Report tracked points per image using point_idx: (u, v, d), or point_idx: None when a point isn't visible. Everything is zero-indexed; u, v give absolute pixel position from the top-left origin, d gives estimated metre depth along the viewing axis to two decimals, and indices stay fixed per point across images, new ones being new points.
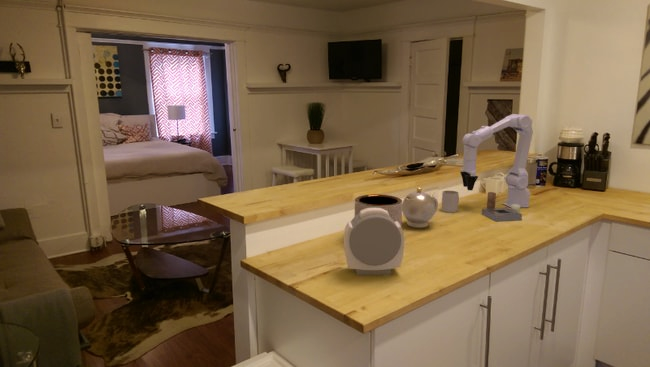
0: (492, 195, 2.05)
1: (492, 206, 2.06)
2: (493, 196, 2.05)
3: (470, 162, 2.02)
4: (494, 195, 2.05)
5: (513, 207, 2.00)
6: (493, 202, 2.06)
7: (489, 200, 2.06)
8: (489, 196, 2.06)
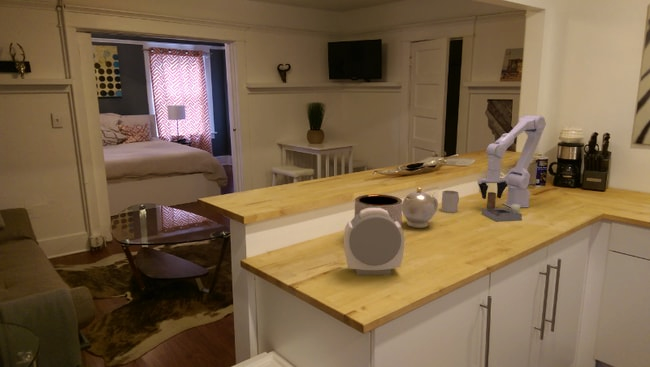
0: (492, 195, 2.05)
1: (492, 206, 2.06)
2: (493, 196, 2.05)
3: (487, 171, 2.04)
4: (494, 195, 2.05)
5: (513, 207, 2.00)
6: (493, 202, 2.06)
7: (489, 200, 2.06)
8: (489, 196, 2.06)
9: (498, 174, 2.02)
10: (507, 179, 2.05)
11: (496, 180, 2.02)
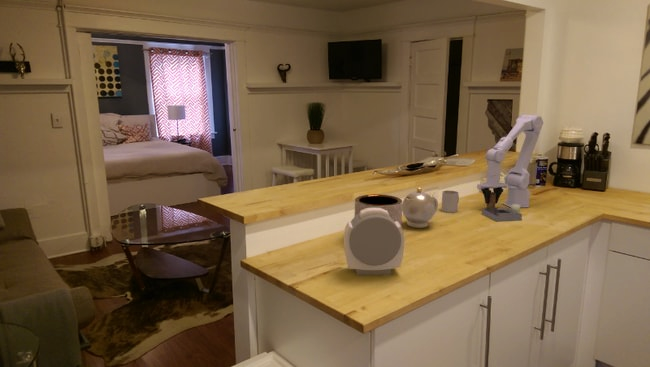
0: (492, 195, 2.05)
1: (492, 206, 2.06)
2: (493, 196, 2.05)
3: (487, 176, 2.05)
4: (494, 195, 2.05)
5: (513, 207, 2.00)
6: (493, 202, 2.06)
7: (489, 200, 2.06)
8: None
9: (498, 179, 2.03)
10: (507, 184, 2.06)
11: (496, 185, 2.03)
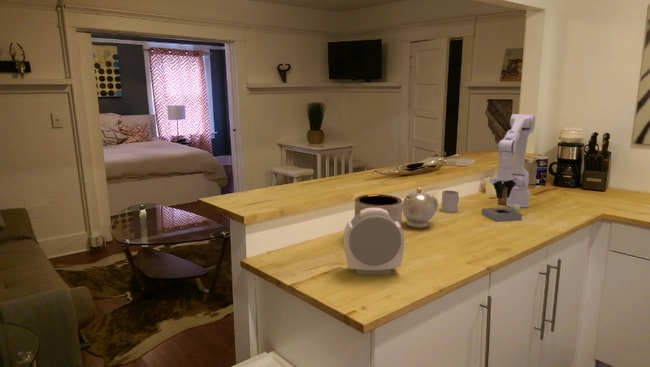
0: (504, 189, 1.92)
1: (504, 201, 1.93)
2: (505, 190, 1.92)
3: (499, 169, 1.91)
4: (506, 189, 1.92)
5: (513, 207, 2.00)
6: (505, 196, 1.93)
7: None
8: None
9: (511, 172, 1.90)
10: (517, 177, 1.94)
11: (509, 178, 1.90)
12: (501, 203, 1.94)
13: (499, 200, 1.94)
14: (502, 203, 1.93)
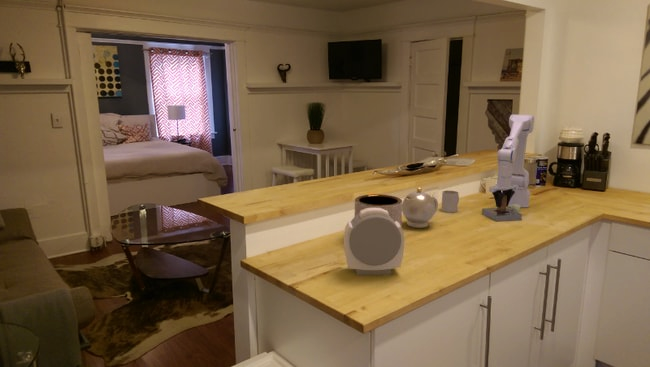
0: (504, 198, 1.93)
1: (504, 209, 1.94)
2: (505, 199, 1.93)
3: (499, 178, 1.92)
4: (505, 198, 1.93)
5: (513, 207, 2.00)
6: (504, 205, 1.94)
7: None
8: None
9: (510, 181, 1.91)
10: (517, 185, 1.95)
11: (508, 187, 1.91)
12: (500, 212, 1.94)
13: (498, 209, 1.95)
14: (501, 212, 1.94)
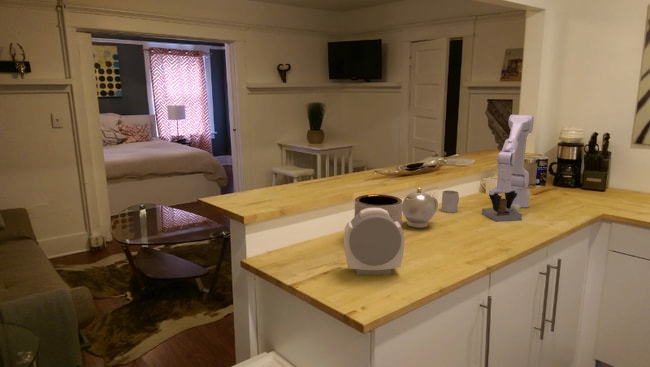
0: (503, 202, 1.93)
1: None
2: (504, 203, 1.93)
3: (498, 181, 1.92)
4: (505, 201, 1.94)
5: (513, 207, 2.00)
6: (504, 209, 1.94)
7: (500, 207, 1.94)
8: (500, 203, 1.94)
9: (510, 183, 1.91)
10: (516, 188, 1.95)
11: (508, 190, 1.91)
12: None
13: (498, 212, 1.95)
14: None
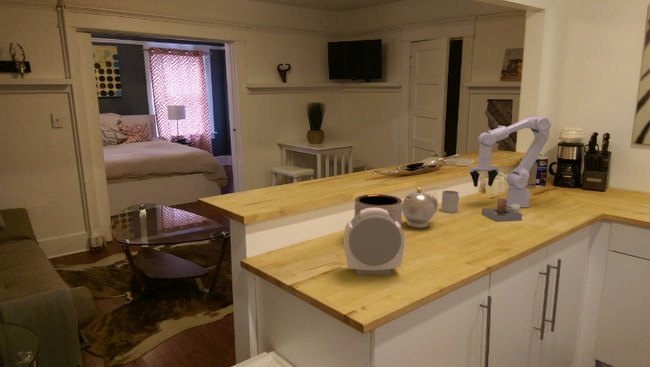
0: (503, 202, 1.93)
1: None
2: (504, 203, 1.93)
3: (479, 159, 2.09)
4: (505, 201, 1.94)
5: (513, 207, 2.00)
6: (504, 209, 1.94)
7: (500, 207, 1.94)
8: (500, 203, 1.94)
9: (489, 162, 2.07)
10: (498, 167, 2.11)
11: (487, 168, 2.07)
12: None
13: (498, 212, 1.95)
14: None
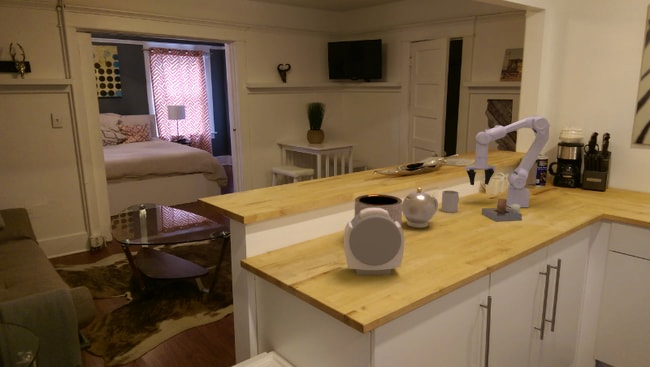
0: (503, 202, 1.93)
1: None
2: (504, 203, 1.93)
3: (475, 158, 2.13)
4: (505, 201, 1.94)
5: (513, 207, 2.00)
6: (504, 209, 1.94)
7: (500, 207, 1.94)
8: (500, 203, 1.94)
9: (485, 161, 2.11)
10: (494, 166, 2.14)
11: (483, 167, 2.11)
12: None
13: (498, 212, 1.95)
14: None
